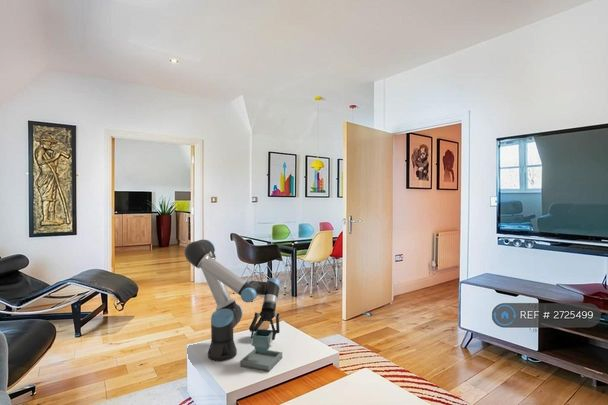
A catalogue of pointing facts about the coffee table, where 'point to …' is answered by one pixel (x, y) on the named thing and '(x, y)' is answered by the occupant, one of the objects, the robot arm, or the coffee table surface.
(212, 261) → the robot arm
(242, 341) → the coffee table surface
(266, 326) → the lidded jar
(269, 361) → the tray
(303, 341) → the coffee table surface
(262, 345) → the flower pot
